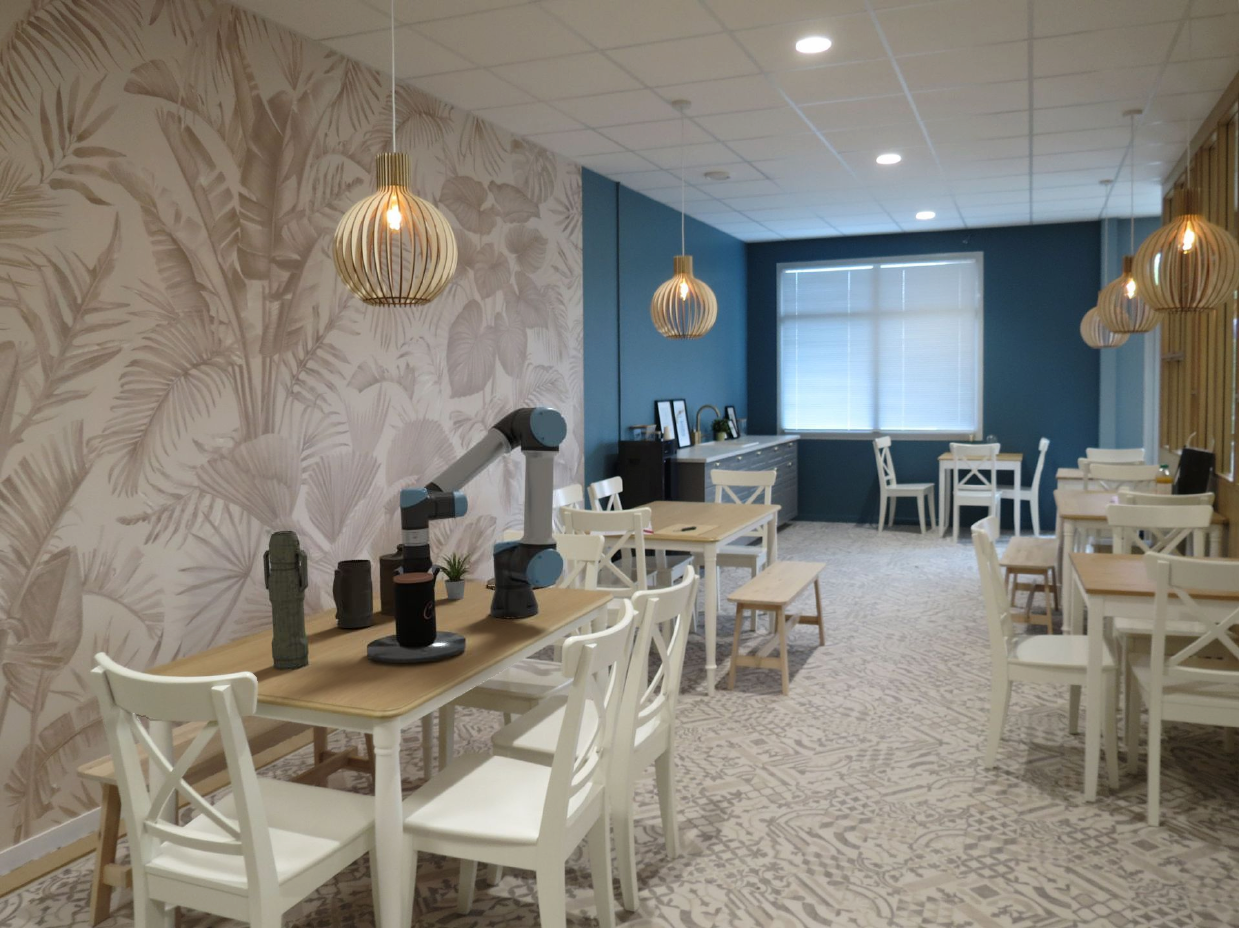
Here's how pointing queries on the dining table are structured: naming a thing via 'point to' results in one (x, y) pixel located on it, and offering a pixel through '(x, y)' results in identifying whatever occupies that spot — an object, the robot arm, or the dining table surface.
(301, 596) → the thermos
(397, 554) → the wooden container
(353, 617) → the beer stein
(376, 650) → the disc
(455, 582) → the house plant
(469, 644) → the dining table surface
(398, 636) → the coffee jar
